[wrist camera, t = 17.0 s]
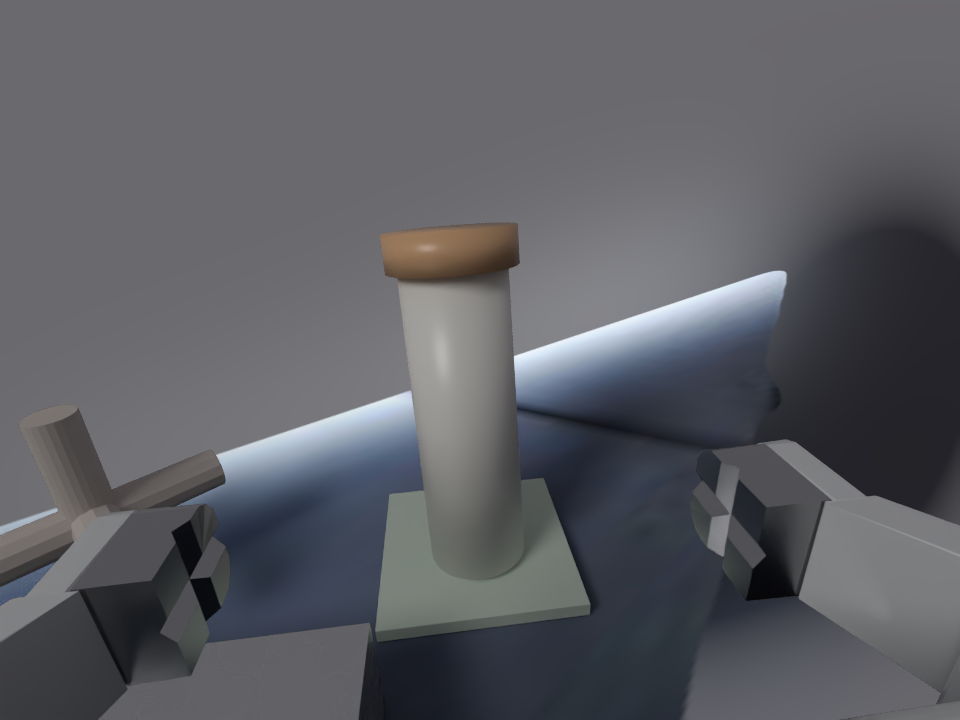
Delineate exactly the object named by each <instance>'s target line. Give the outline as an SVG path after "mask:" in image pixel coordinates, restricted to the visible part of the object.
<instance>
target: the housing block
mask: <svg viewBox="0 0 960 720" xmlns="http://www.w3.org/2000/svg"><path fill="white" fill-rule="evenodd" d="M127 688H128V690H127V691H126V692H125V693H124V694H123V695H122V696H121V697H120V698H119V699H118V700H117V701H116V702H115V703H114V704H113V705H112V706H111V707H110V708H109V709H108V710H107V711H106V712H105V713H104V714H103V715H102V716H101V717H100V718H99V719H98V720H383V719H384V706H385V700H384V695H383V689H382V684H381V679H380V674H379V668H378V663H377V658H376V653H375V647H374V642H373V637H372V632H371V626H370V623H365V624H357V625H349V626H341V627H333V628H325V629H317V630H309V631H301V632H293V633H285V634H277V635H269V636H261V637H254V638H246V639H238V640H230V641H222V642H214V643H206V644H205V646H204V648H203V650H202V653H201V655H200V657H199V659H198V662H197V664H196V666H195V668H194V671H193V673H192V675H191V676H187V677H181V678H175V679H169V680H163V681H157V682H151V683H145V684H138V685H132V686H127Z"/></svg>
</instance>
